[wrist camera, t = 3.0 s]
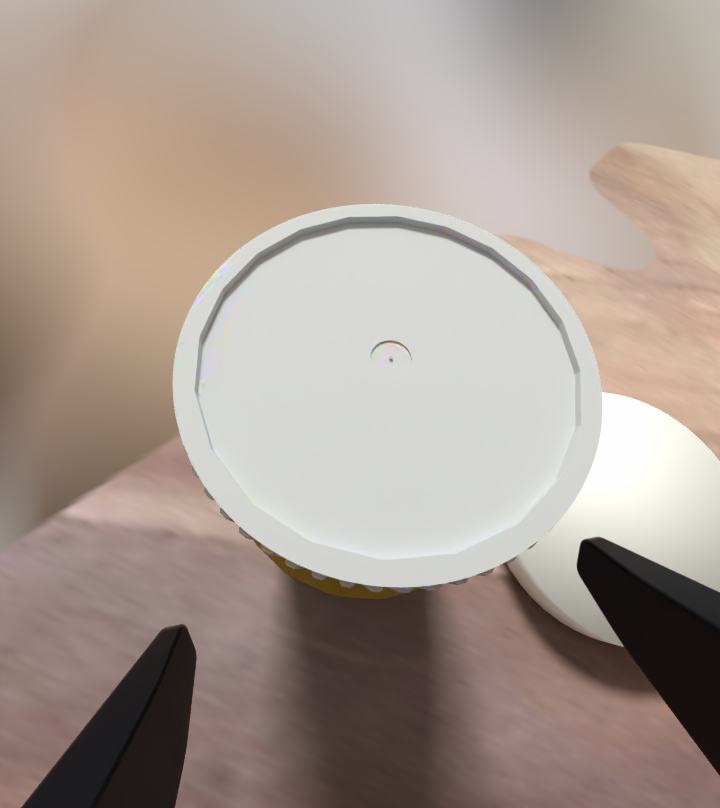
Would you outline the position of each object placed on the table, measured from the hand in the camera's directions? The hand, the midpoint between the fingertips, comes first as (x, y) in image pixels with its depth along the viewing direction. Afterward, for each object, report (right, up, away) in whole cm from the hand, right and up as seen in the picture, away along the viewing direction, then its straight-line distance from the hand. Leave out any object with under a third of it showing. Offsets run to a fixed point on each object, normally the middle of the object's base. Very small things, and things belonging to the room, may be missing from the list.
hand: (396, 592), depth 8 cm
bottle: (-1, -1, +11) cm, 11 cm away
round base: (+12, -1, +11) cm, 16 cm away
